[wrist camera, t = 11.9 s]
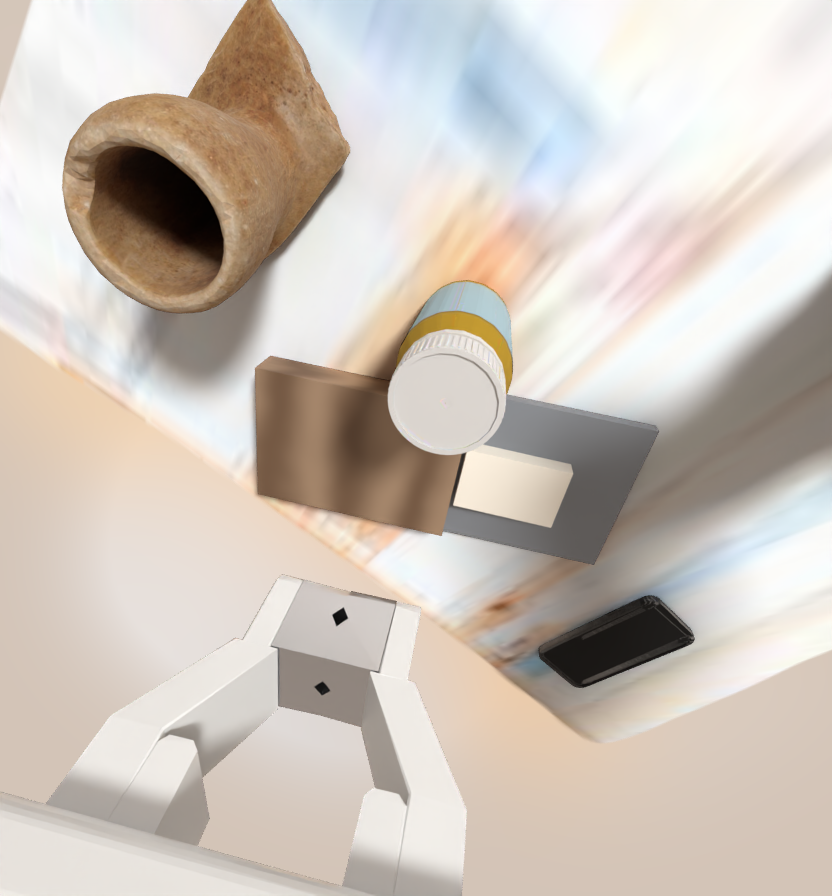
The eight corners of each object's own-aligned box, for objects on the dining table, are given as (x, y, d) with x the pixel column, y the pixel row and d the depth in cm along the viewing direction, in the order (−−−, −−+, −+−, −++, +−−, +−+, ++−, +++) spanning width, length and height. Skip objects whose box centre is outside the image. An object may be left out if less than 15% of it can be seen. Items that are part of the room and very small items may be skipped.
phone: (699, 641, 49) (578, 690, 56) (695, 631, 50) (576, 681, 57) (654, 597, 47) (534, 654, 54) (651, 588, 48) (533, 645, 55)
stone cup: (267, 305, 39) (152, 369, 26) (150, 180, 36) (-49, 184, 23) (401, 162, 32) (334, 154, 20) (272, -8, 29) (89, -152, 16)
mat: (655, 425, 39) (659, 431, 38) (592, 557, 47) (593, 564, 46) (476, 388, 40) (475, 392, 39) (443, 523, 47) (441, 530, 47)
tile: (571, 464, 41) (573, 473, 39) (549, 517, 44) (551, 527, 42) (468, 441, 41) (467, 449, 40) (454, 495, 44) (453, 505, 43)
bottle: (416, 283, 36) (368, 342, 23) (509, 274, 35) (513, 333, 22) (425, 369, 40) (388, 463, 27) (511, 364, 38) (515, 461, 25)
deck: (473, 398, 40) (471, 414, 38) (444, 516, 47) (441, 535, 44) (270, 355, 41) (254, 367, 39) (271, 476, 48) (257, 493, 45)
